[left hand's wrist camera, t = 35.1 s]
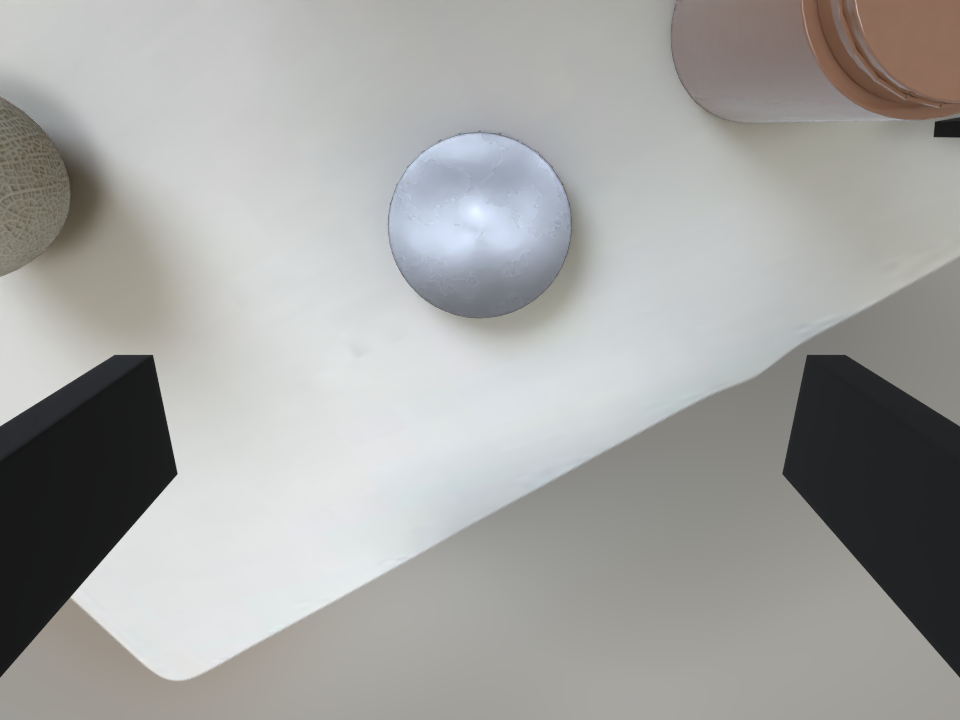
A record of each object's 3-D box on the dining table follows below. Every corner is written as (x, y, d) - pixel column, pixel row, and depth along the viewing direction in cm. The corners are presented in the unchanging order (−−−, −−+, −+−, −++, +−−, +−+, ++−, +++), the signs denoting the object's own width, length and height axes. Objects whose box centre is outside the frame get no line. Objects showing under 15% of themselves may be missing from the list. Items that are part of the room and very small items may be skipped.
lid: (356, 207, 38) (348, 212, 36) (497, 90, 36) (498, 87, 33) (463, 340, 41) (463, 352, 39) (601, 240, 39) (608, 248, 36)
